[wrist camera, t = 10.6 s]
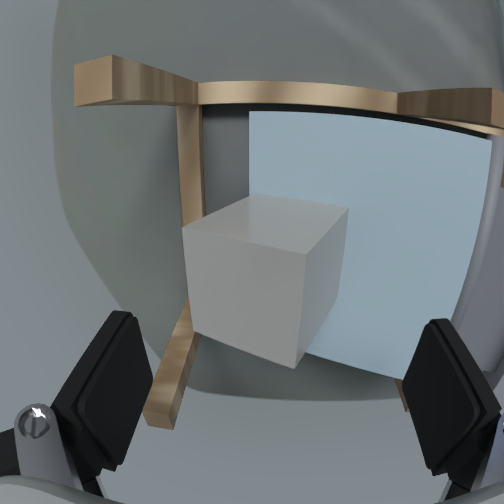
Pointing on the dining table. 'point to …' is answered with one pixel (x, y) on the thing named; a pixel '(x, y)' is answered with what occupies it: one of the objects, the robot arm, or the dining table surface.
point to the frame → (192, 169)
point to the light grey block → (265, 273)
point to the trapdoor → (397, 231)
